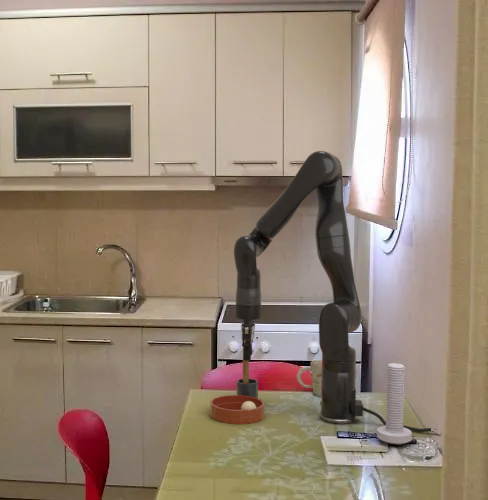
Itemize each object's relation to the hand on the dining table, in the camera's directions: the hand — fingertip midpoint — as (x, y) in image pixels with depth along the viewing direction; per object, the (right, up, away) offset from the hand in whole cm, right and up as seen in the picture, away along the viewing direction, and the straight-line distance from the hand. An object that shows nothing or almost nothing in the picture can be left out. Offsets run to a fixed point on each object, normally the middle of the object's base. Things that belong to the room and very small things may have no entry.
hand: (247, 357), depth 207 cm
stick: (-1, -14, +1) cm, 14 cm away
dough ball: (-2, -12, -11) cm, 16 cm away
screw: (+34, -17, -31) cm, 50 cm away
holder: (0, -14, +1) cm, 14 cm away
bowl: (-4, -15, -11) cm, 19 cm away
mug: (+23, -14, +13) cm, 30 cm away
